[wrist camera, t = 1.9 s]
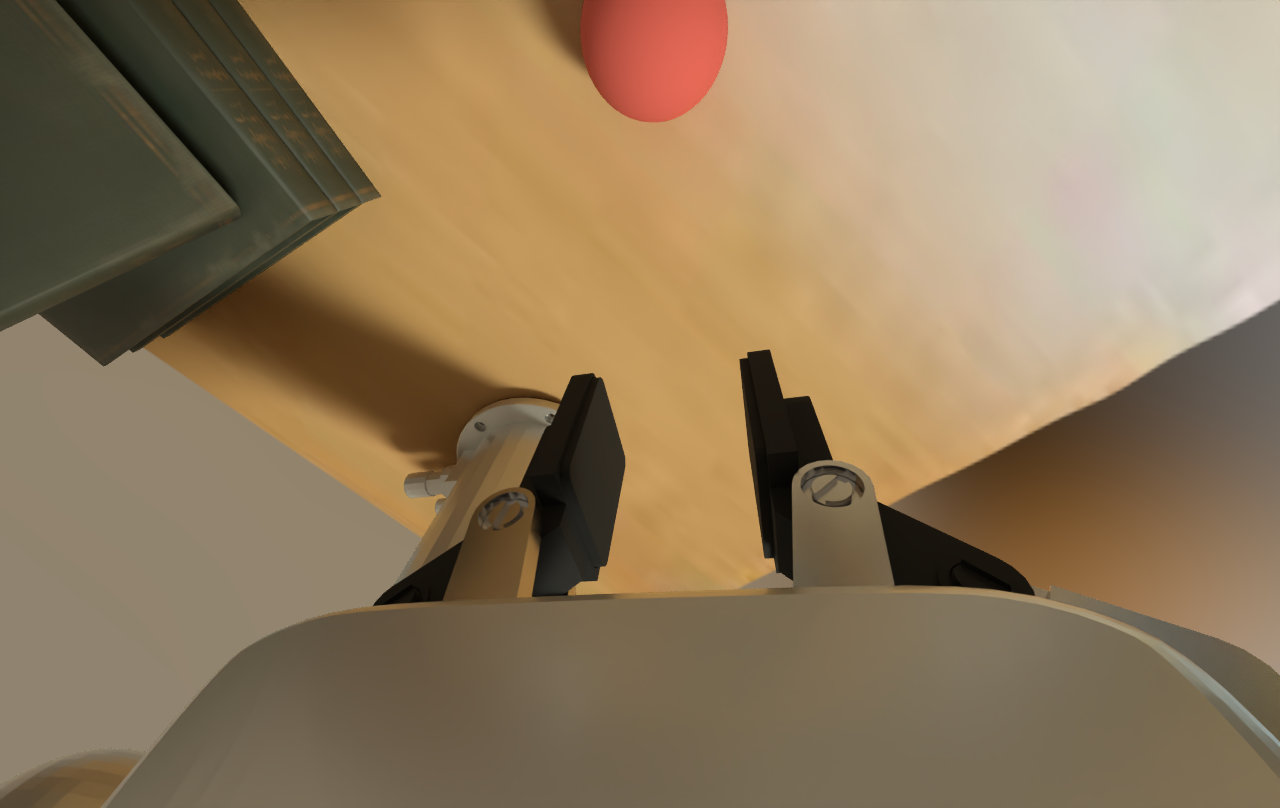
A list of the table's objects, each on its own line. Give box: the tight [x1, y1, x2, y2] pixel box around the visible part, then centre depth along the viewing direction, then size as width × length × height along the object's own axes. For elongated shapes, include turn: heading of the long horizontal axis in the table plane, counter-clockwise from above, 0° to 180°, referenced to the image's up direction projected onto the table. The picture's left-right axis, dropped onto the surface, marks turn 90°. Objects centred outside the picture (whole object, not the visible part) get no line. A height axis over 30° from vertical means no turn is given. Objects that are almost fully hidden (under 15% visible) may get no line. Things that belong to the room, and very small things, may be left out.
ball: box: [580, 0, 728, 122], centre depth 19 cm, size 6×6×6 cm
